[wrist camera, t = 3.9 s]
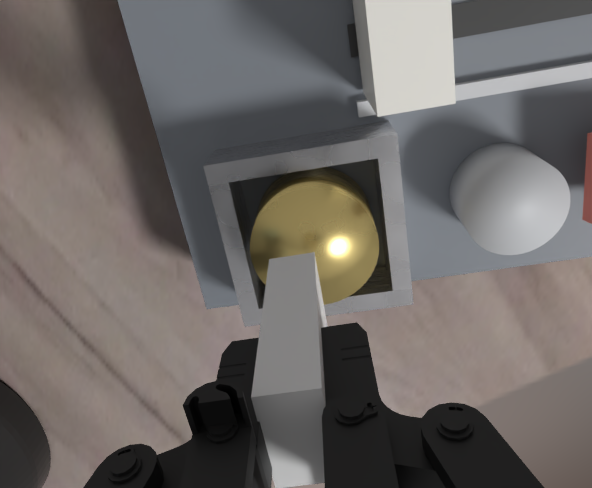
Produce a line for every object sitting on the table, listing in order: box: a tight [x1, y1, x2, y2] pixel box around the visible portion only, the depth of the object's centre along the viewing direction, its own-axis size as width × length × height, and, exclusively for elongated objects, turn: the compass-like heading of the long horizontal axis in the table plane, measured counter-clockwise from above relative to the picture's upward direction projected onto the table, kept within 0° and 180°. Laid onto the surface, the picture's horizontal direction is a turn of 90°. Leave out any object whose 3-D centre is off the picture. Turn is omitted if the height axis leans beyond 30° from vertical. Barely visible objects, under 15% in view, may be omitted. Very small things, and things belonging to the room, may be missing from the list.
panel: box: [117, 0, 592, 309], centre depth 22 cm, size 24×15×6 cm, turn 100°
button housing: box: [203, 121, 413, 327], centre depth 22 cm, size 7×7×2 cm
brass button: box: [250, 167, 379, 305], centre depth 21 cm, size 5×5×3 cm
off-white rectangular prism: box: [352, 0, 456, 117], centre depth 17 cm, size 2×4×5 cm, turn 10°
